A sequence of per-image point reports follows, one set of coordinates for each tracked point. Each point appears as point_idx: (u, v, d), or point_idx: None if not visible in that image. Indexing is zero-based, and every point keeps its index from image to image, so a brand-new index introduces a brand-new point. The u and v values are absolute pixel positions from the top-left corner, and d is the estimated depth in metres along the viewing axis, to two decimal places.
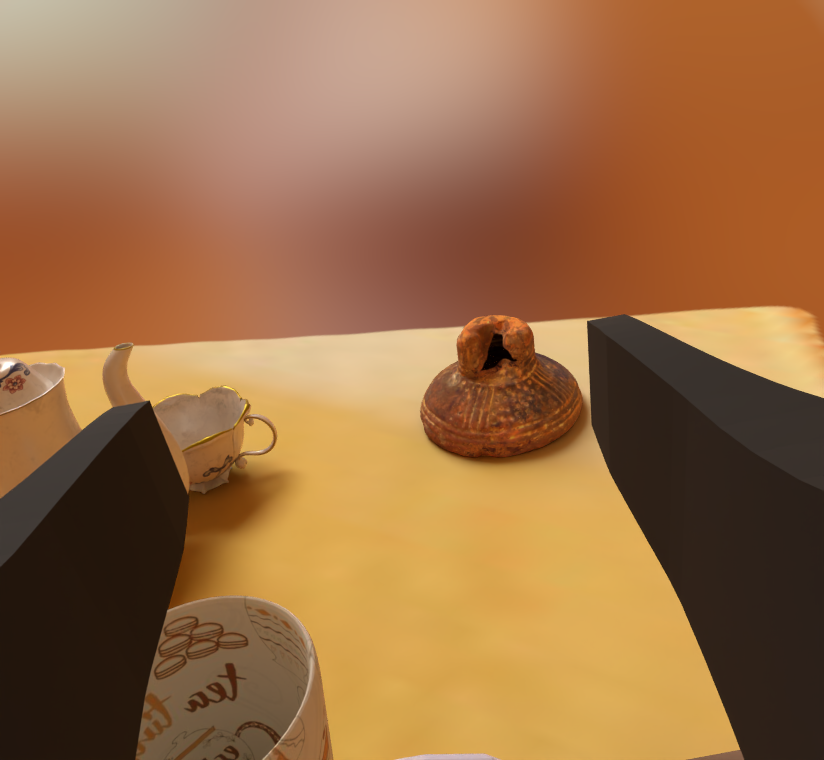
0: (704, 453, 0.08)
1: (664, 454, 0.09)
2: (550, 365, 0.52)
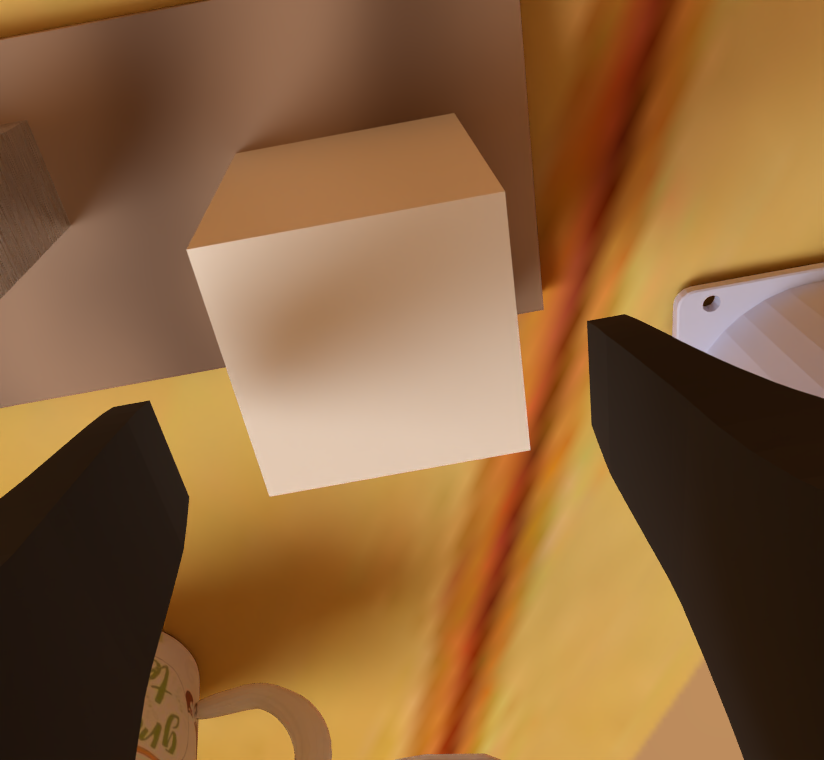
0: (704, 453, 0.08)
1: (664, 454, 0.09)
2: None
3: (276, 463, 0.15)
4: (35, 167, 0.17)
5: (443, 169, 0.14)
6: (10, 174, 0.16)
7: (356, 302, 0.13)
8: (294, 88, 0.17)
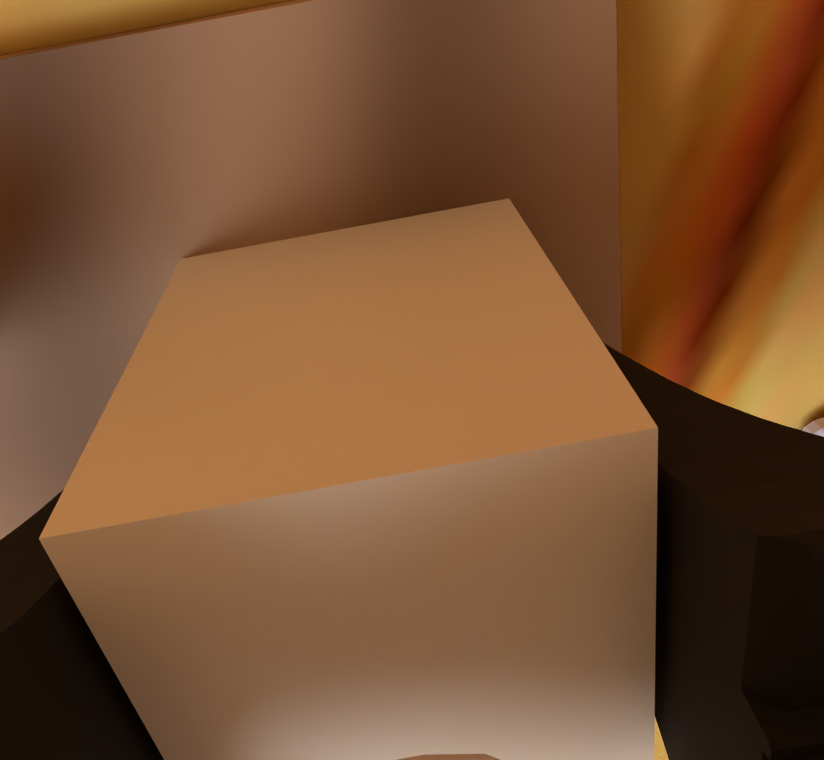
0: None
1: None
2: None
3: None
4: None
5: (518, 340, 0.08)
6: None
7: (368, 605, 0.07)
8: (268, 165, 0.11)
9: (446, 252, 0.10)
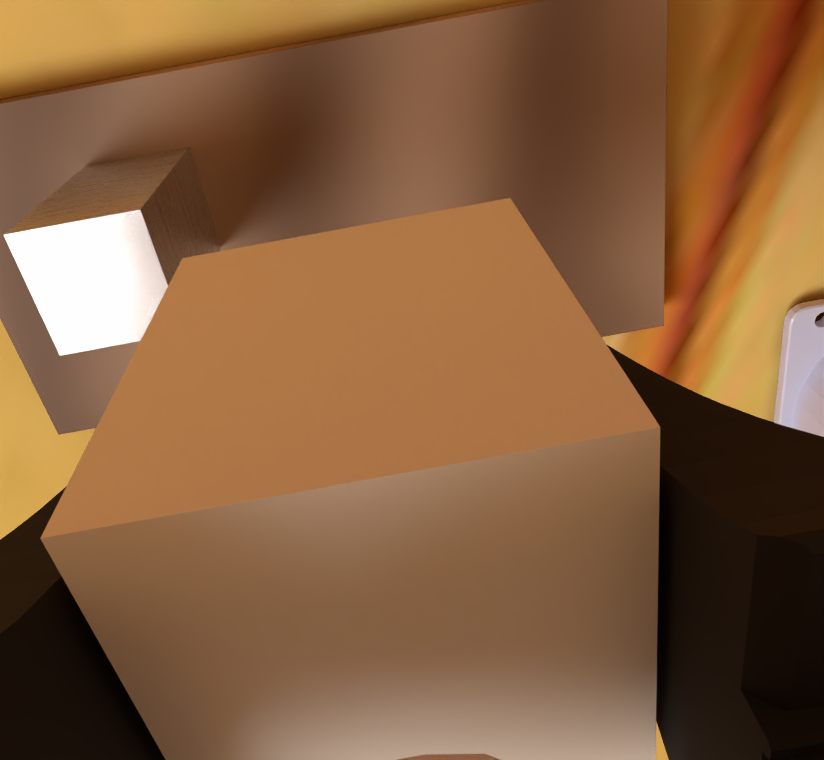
0: None
1: None
2: None
3: None
4: (197, 192, 0.18)
5: (520, 340, 0.08)
6: (185, 200, 0.17)
7: (369, 605, 0.07)
8: (445, 115, 0.18)
9: (447, 252, 0.10)
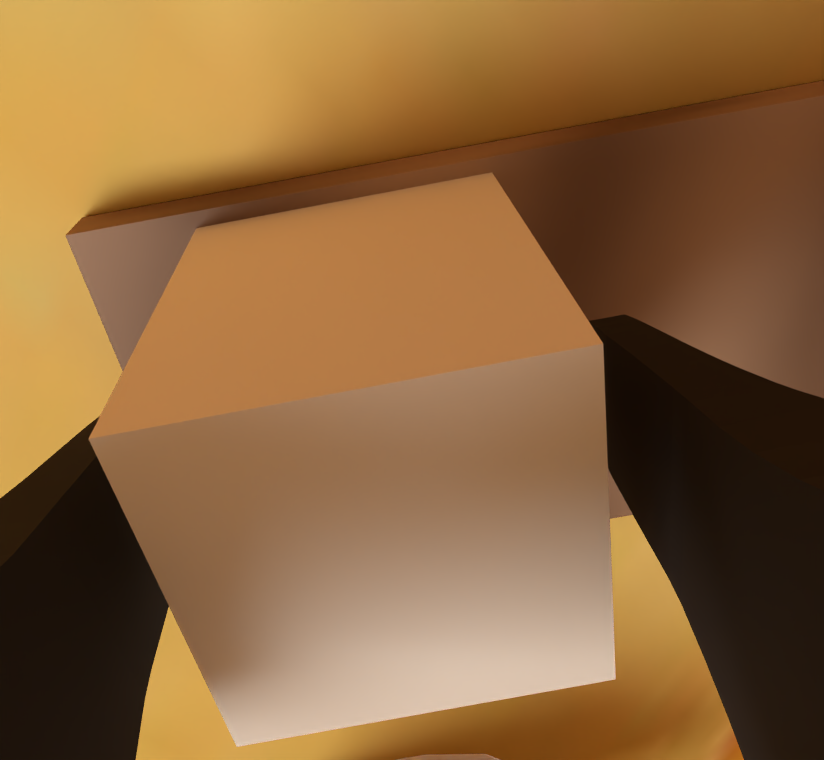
0: (704, 453, 0.08)
1: (664, 454, 0.09)
2: None
3: (245, 707, 0.10)
4: None
5: (493, 284, 0.09)
6: None
7: (362, 504, 0.08)
8: (754, 220, 0.14)
9: (433, 217, 0.12)
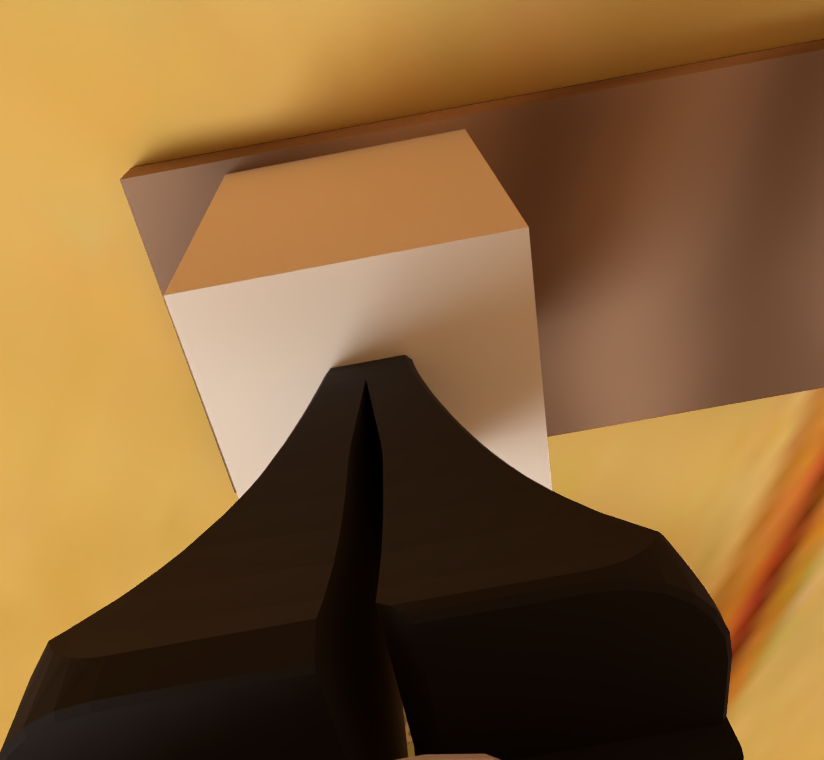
0: None
1: None
2: None
3: None
4: None
5: (456, 198, 0.12)
6: None
7: (358, 352, 0.12)
8: (680, 170, 0.17)
9: (416, 160, 0.15)
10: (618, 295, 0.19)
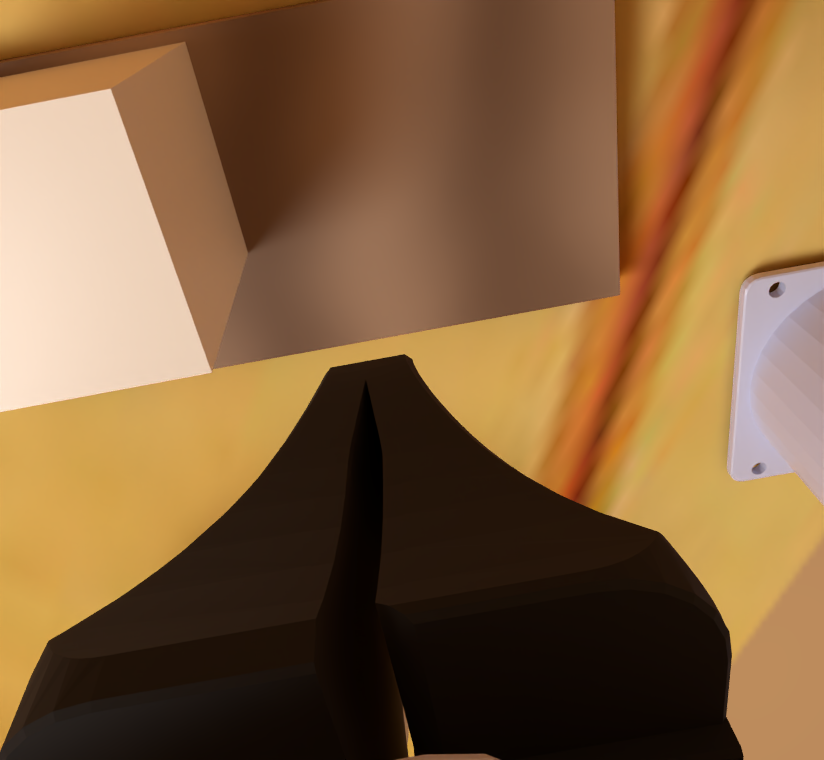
0: None
1: None
2: None
3: None
4: None
5: (95, 79, 0.14)
6: None
7: None
8: (399, 84, 0.19)
9: (113, 62, 0.16)
10: (362, 208, 0.20)
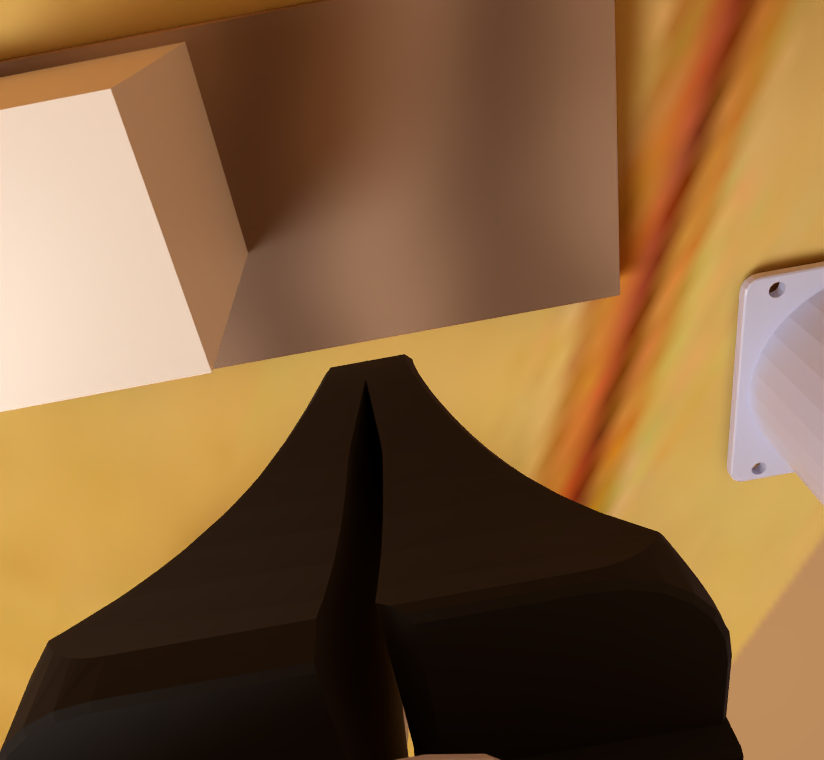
0: None
1: None
2: None
3: None
4: None
5: (95, 79, 0.14)
6: None
7: None
8: (399, 84, 0.19)
9: (113, 62, 0.16)
10: (362, 208, 0.20)
